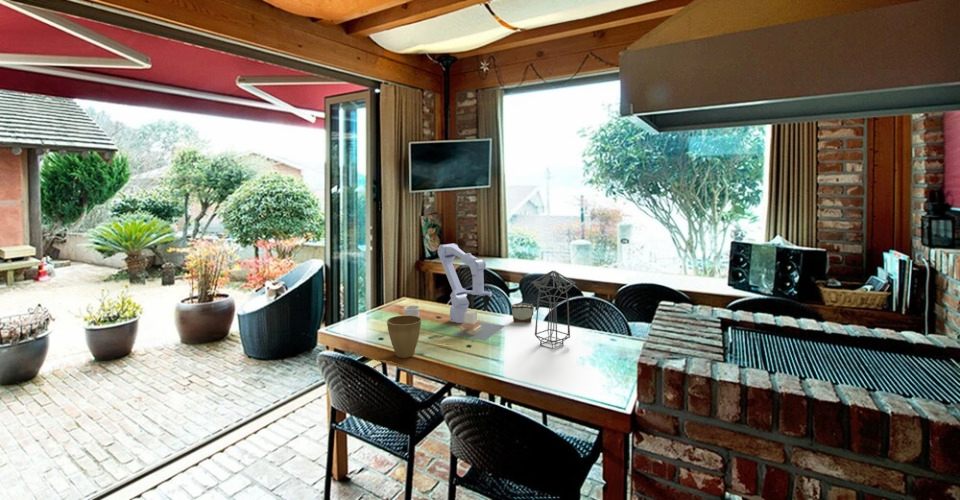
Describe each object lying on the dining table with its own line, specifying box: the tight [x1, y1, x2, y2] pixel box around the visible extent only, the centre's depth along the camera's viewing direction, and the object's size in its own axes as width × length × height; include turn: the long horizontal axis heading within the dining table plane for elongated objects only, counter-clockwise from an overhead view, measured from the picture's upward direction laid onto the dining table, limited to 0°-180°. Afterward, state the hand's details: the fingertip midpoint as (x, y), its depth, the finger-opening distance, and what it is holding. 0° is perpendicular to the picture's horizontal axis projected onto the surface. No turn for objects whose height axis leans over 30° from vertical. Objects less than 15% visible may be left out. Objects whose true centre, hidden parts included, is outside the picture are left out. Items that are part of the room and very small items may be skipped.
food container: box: [510, 302, 535, 324], centre depth 239 cm, size 12×6×10 cm, turn 84°
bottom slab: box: [459, 325, 482, 335], centre depth 222 cm, size 8×8×2 cm
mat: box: [452, 321, 505, 341], centre depth 225 cm, size 18×24×1 cm
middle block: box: [462, 320, 480, 329], centre depth 222 cm, size 6×6×2 cm
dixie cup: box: [403, 305, 421, 317], centre depth 235 cm, size 8×8×10 cm
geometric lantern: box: [530, 270, 576, 350], centre depth 202 cm, size 16×16×35 cm
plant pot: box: [386, 315, 422, 359], centre depth 193 cm, size 15×15×16 cm
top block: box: [464, 310, 478, 324], centre depth 221 cm, size 5×5×5 cm
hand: (478, 309), depth 229 cm, fingers open, 7 cm apart
